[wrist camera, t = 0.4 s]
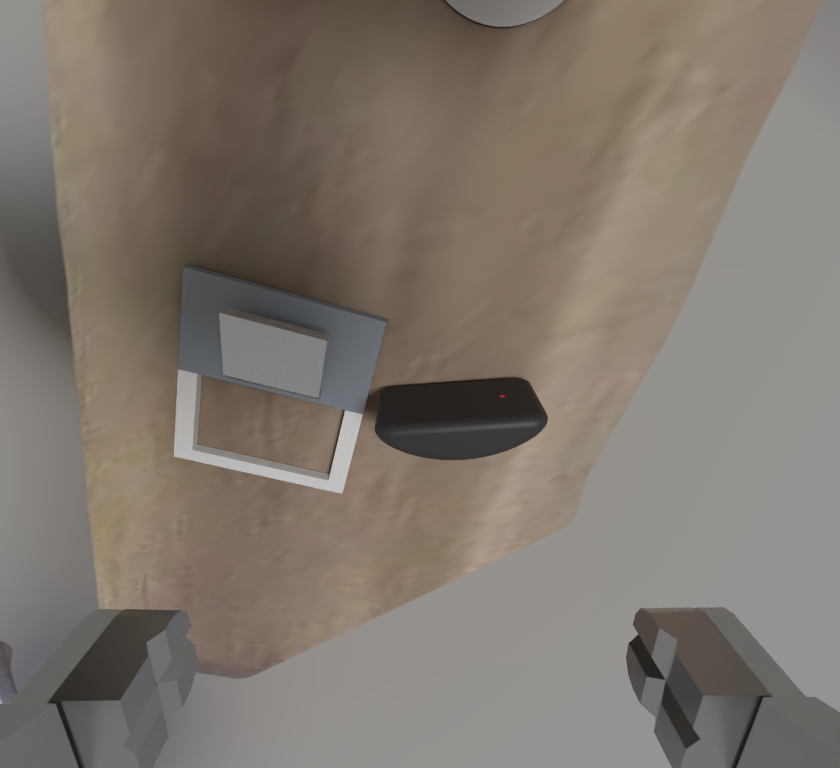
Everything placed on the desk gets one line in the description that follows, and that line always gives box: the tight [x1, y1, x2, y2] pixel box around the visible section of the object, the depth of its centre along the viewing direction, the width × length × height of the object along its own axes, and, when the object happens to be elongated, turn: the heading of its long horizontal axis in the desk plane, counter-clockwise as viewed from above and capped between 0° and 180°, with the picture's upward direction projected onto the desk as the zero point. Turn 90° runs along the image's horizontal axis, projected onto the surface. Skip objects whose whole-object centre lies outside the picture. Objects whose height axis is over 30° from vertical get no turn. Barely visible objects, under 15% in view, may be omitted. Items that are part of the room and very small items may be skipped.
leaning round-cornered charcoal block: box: [375, 378, 548, 460], centre depth 44 cm, size 16×5×9 cm, turn 94°
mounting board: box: [174, 265, 388, 494], centre depth 47 cm, size 22×20×1 cm
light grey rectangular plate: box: [219, 307, 329, 400], centre depth 43 cm, size 8×10×1 cm
